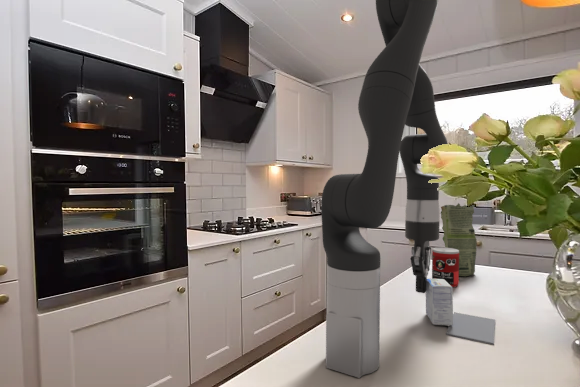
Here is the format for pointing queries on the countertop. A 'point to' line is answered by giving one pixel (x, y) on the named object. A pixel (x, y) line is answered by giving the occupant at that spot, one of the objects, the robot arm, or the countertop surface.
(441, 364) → the countertop surface
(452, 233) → the pouch
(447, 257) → the canned food
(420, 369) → the countertop surface
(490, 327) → the mat
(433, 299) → the medicine box
